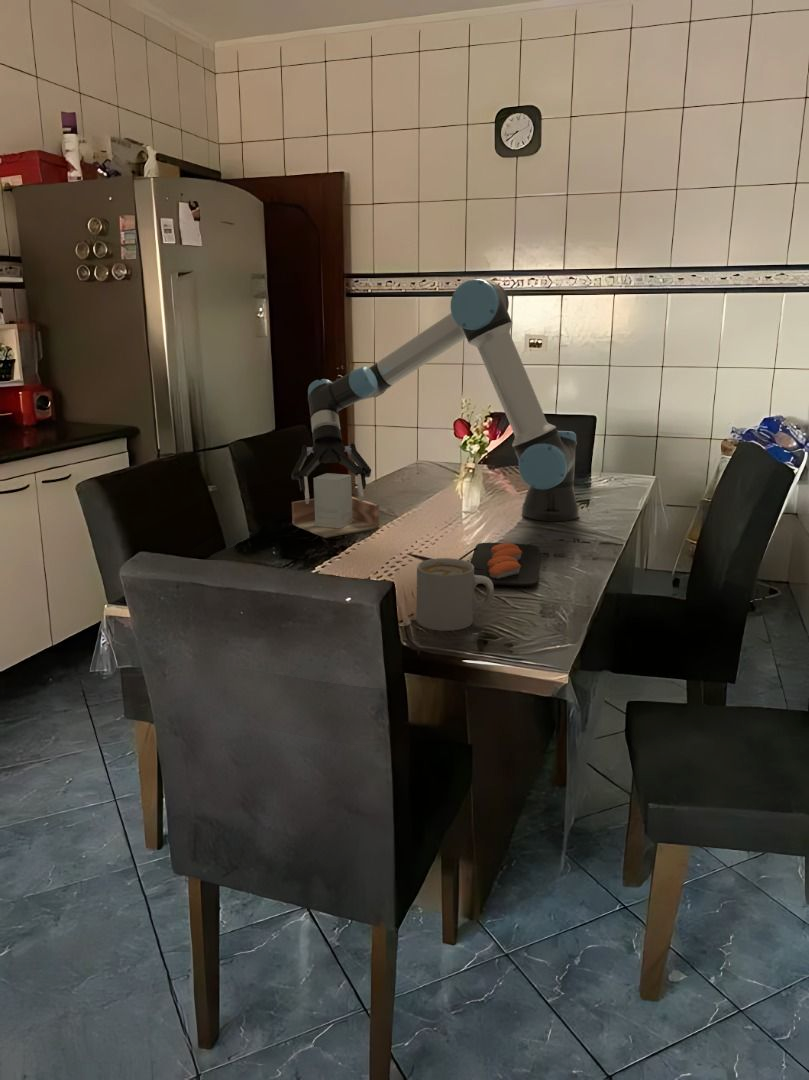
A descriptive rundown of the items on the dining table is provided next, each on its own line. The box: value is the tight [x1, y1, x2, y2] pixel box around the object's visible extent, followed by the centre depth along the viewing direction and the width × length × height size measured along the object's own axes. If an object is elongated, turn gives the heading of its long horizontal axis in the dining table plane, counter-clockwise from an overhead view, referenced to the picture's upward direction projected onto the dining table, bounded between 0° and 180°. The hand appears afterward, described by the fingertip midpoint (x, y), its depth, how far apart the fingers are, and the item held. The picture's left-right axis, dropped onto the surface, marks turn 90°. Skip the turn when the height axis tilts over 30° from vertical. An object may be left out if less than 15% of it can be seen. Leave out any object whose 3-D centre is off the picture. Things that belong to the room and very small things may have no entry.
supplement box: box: [312, 472, 353, 529], centre depth 203 cm, size 7×7×13 cm
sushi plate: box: [406, 542, 541, 587], centre depth 173 cm, size 29×30×4 cm
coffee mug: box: [416, 557, 495, 632], centre depth 140 cm, size 13×10×10 cm
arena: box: [291, 496, 380, 539], centre depth 205 cm, size 16×16×6 cm
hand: (334, 500), depth 201 cm, fingers open, 13 cm apart
